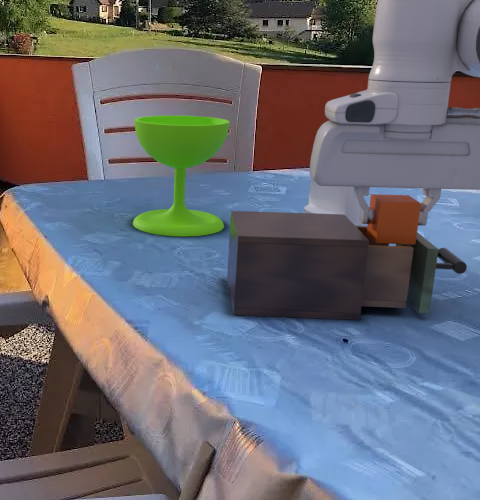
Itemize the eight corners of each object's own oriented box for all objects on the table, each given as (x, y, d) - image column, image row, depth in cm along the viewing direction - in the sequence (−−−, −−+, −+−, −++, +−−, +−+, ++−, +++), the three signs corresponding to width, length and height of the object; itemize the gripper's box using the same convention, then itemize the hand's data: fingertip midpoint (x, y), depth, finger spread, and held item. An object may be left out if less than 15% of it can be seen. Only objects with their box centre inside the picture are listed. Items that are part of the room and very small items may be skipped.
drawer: (435, 283, 93) (444, 225, 90) (469, 315, 82) (480, 250, 79) (296, 278, 94) (301, 220, 91) (311, 309, 83) (317, 244, 80)
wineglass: (205, 241, 114) (211, 128, 108) (116, 228, 120) (117, 121, 115) (236, 220, 127) (242, 119, 122) (154, 210, 134) (157, 113, 129)
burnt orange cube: (404, 234, 88) (409, 195, 86) (415, 244, 83) (421, 203, 82) (366, 233, 88) (370, 194, 86) (375, 243, 83) (380, 202, 82)
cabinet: (337, 284, 94) (344, 214, 91) (360, 320, 82) (369, 240, 79) (226, 280, 95) (230, 210, 92) (233, 315, 83) (238, 235, 80)
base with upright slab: (372, 251, 110) (381, 174, 107) (326, 257, 106) (334, 178, 103) (332, 236, 118) (340, 165, 114) (289, 242, 114) (295, 168, 110)
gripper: (487, 106, 84) (470, 220, 87) (312, 102, 85) (303, 215, 89) (511, 110, 78) (491, 233, 81) (322, 107, 79) (311, 227, 83)
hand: (392, 223), depth 85 cm, fingers closed on burnt orange cube, 4 cm apart
